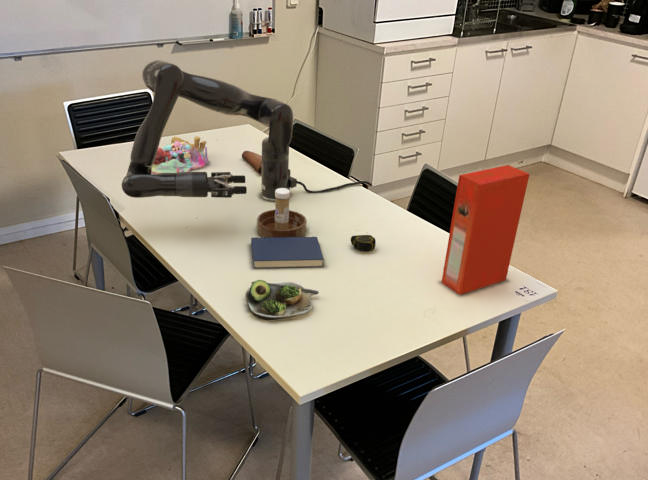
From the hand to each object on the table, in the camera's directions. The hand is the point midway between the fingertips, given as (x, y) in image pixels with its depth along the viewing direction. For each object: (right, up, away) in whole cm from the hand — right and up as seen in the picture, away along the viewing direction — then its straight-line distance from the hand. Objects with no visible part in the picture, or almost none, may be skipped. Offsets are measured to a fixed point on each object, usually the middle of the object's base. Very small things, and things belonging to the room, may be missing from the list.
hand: (245, 184), depth 201 cm
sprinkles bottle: (+10, -13, +10) cm, 19 cm away
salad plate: (+10, -36, -26) cm, 46 cm away
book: (+12, -22, -4) cm, 25 cm away
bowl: (+10, -13, +10) cm, 19 cm away
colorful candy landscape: (-32, +18, +56) cm, 66 cm away
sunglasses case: (0, +17, +57) cm, 59 cm away
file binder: (+66, -30, -12) cm, 73 cm away
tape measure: (+35, -19, +2) cm, 40 cm away
